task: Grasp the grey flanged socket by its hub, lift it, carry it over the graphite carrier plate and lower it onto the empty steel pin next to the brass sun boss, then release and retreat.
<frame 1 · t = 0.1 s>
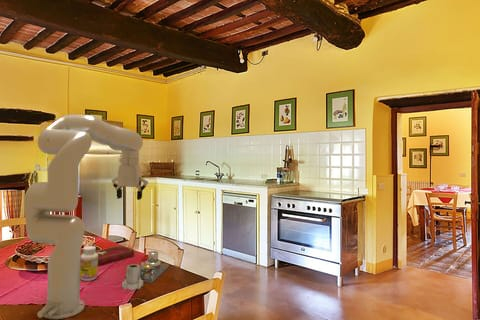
hand: (129, 198, 155), 31 cm above the table, tool pointing down, fingers open, 9 cm apart
carrier: (147, 273, 147), on the table
supplement bottle: (88, 278, 139), on the table
grey flanged socket: (132, 286, 133), on the table
hardcover book: (109, 260, 165), on the table
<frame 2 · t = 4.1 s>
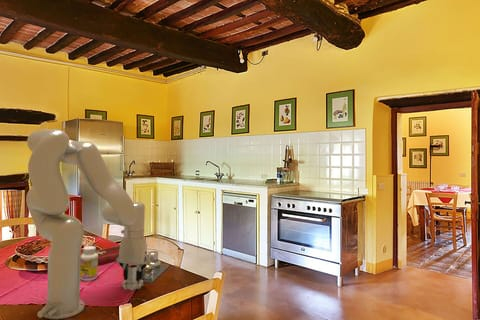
hand: (132, 279, 133), 3 cm above the table, tool pointing down, fingers closed on grey flanged socket, 4 cm apart
grey flanged socket: (132, 286, 133), on the table, touching gripper
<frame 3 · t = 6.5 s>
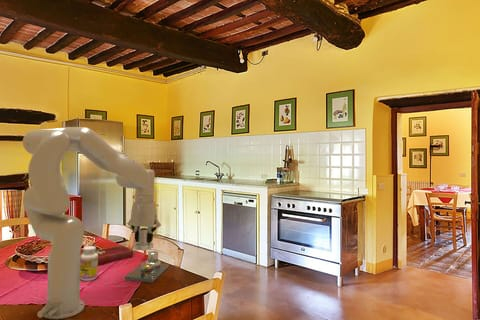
hand: (143, 241, 142), 16 cm above the table, tool pointing down, fingers closed on grey flanged socket, 4 cm apart
grey flanged socket: (143, 247, 142), point 13 cm above the table, touching gripper
everything else where it was.
when the fingers open (5 cm above the table, at t = 8.9 s): grey flanged socket stays where it is, resting on carrier.
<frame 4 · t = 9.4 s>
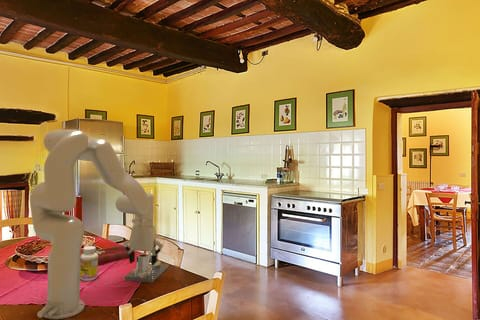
hand: (142, 263, 142), 6 cm above the table, tool pointing down, fingers open, 9 cm apart
grey flanged socket: (142, 274, 142), point 1 cm above the table, touching carrier
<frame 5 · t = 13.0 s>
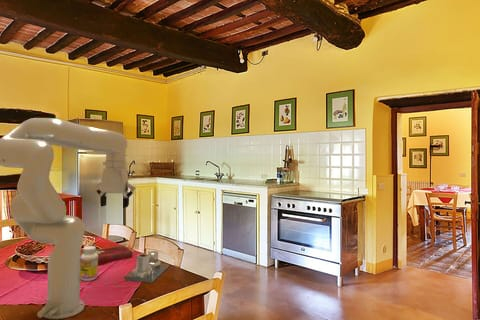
hand: (114, 206, 138), 30 cm above the table, tool pointing down, fingers open, 9 cm apart
at the end: grey flanged socket 0.1 cm from the target spot on the carrier, point 1.5 cm above the carrier's base; grey flanged socket tilted 0°; the gripper is holding nothing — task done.
